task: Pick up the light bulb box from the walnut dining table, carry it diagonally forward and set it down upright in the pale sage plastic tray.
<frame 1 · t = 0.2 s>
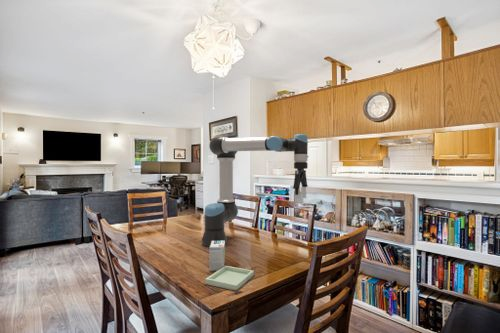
hand: (300, 199, 156), 28 cm above the table, fingers open, 13 cm apart
light bulb box: (217, 266, 128), on the table
tray: (230, 279, 114), on the table
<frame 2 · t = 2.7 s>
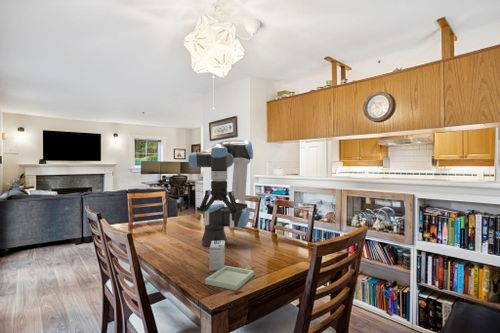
hand: (219, 226, 128), 19 cm above the table, fingers open, 13 cm apart
nothing on the table moved.
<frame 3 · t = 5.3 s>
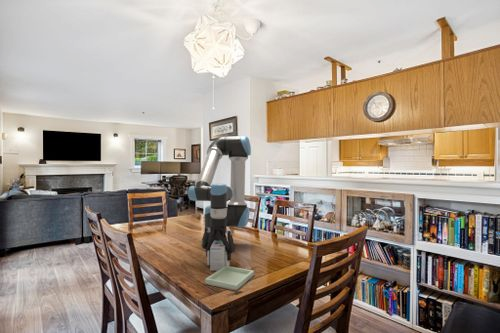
hand: (218, 265, 128), 0 cm above the table, fingers closed on light bulb box, 9 cm apart
light bulb box: (218, 266, 128), on the table, touching gripper
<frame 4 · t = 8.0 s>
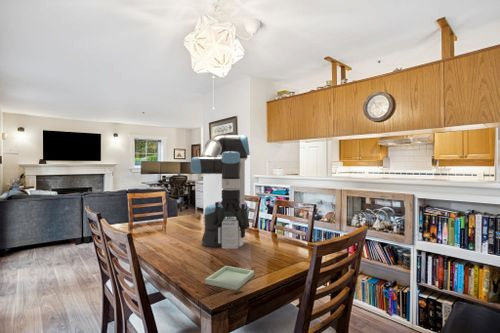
hand: (230, 243, 113), 15 cm above the table, fingers closed on light bulb box, 9 cm apart
light bulb box: (230, 245, 114), point 14 cm above the table, touching gripper
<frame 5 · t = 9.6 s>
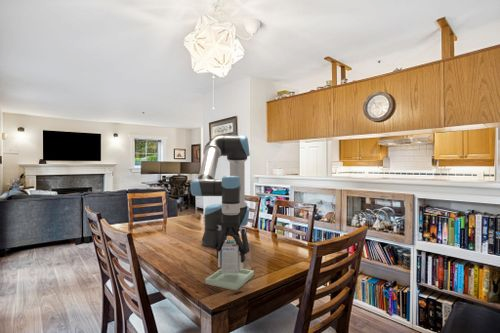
hand: (230, 267, 113), 5 cm above the table, fingers closed on light bulb box, 9 cm apart
light bulb box: (230, 269, 114), point 4 cm above the table, touching gripper
when the fingers open (4 cm above the table, at t = 10.7 s): light bulb box drops 3 cm, resting on tray.
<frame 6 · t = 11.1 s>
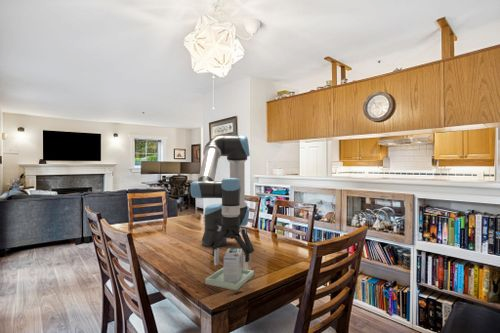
hand: (230, 267, 114), 5 cm above the table, fingers open, 13 cm apart
light bulb box: (233, 278, 114), resting on tray
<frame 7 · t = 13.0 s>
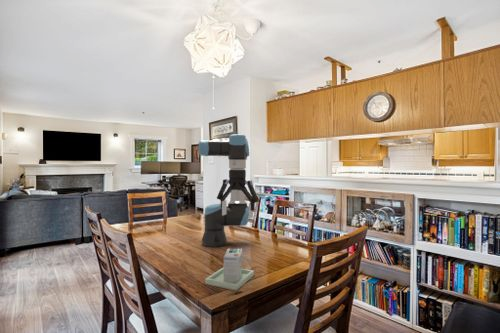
hand: (237, 216, 124), 24 cm above the table, fingers open, 13 cm apart
nothing on the table moved.
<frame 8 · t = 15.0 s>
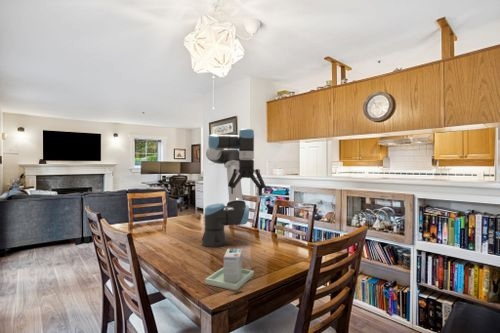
hand: (246, 201, 140), 29 cm above the table, fingers open, 13 cm apart
nothing on the table moved.
at the end: light bulb box inside the target area on the tray (1.1 cm from its centre), point 0.3 cm above the tray's base; light bulb box tilted 0°; the gripper is holding nothing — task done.
